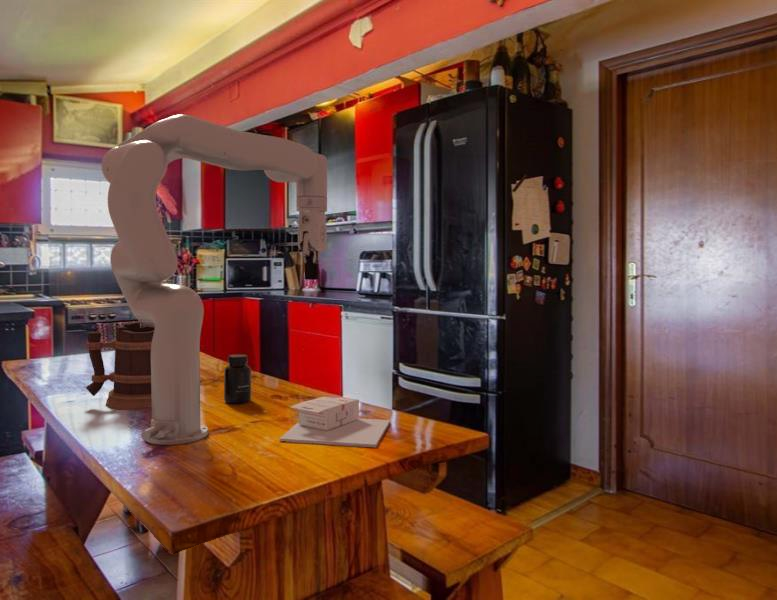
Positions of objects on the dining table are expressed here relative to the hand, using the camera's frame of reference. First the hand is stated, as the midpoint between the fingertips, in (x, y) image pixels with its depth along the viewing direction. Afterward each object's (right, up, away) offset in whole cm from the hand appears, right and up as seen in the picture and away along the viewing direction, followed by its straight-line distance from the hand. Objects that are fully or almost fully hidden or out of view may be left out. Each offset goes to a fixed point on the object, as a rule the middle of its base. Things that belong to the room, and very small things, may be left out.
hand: (311, 279), depth 146 cm
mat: (+8, -34, -19) cm, 40 cm away
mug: (-46, -32, +5) cm, 56 cm away
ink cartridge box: (+9, -30, -9) cm, 33 cm away
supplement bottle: (-20, -32, +7) cm, 38 cm away
